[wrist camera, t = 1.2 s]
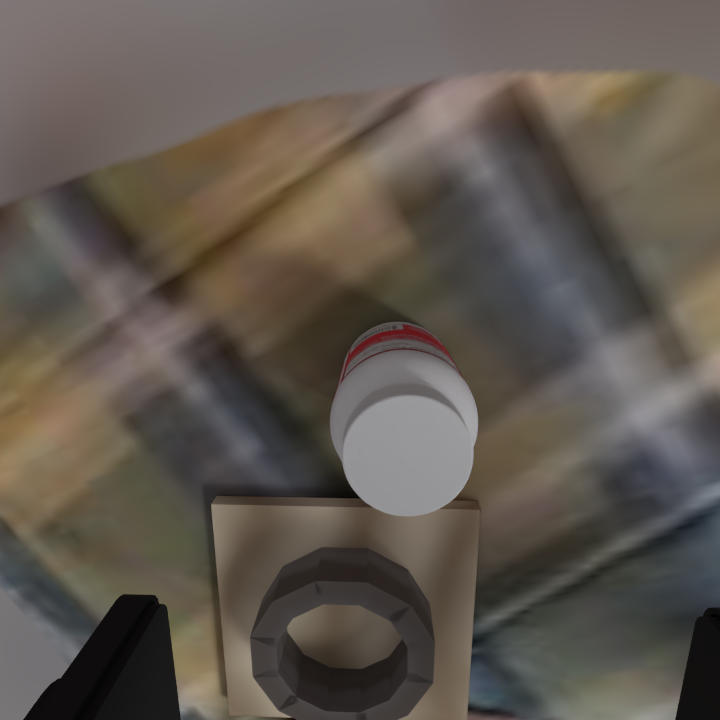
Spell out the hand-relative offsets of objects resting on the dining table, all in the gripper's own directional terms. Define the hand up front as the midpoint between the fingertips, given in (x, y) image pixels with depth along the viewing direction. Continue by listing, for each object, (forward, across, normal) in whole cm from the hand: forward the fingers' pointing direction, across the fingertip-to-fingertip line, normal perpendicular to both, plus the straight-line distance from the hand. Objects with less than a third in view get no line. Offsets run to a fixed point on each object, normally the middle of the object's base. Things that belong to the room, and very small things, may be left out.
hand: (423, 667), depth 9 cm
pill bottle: (+20, 0, 0) cm, 20 cm away
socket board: (+20, +3, +16) cm, 26 cm away
